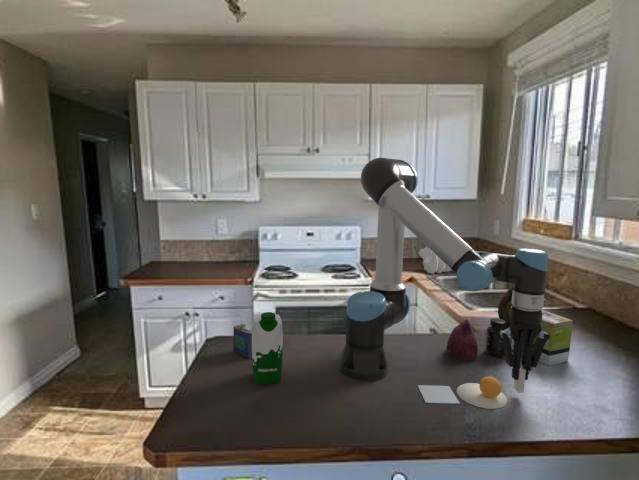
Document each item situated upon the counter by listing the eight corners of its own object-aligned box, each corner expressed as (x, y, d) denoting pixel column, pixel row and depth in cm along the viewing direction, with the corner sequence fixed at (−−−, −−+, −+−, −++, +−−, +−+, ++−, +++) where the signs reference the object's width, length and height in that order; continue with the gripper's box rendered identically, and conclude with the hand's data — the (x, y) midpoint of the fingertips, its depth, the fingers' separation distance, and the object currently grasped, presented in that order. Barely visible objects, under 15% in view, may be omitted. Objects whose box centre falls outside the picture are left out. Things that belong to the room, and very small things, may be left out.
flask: (255, 357, 129) (255, 326, 127) (248, 360, 127) (248, 328, 125) (237, 349, 135) (237, 319, 133) (230, 352, 132) (230, 321, 131)
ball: (504, 380, 105) (506, 399, 106) (493, 371, 111) (496, 389, 111) (484, 384, 105) (486, 403, 106) (474, 374, 110) (477, 392, 111)
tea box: (509, 348, 141) (513, 308, 139) (529, 344, 145) (533, 305, 143) (548, 366, 128) (553, 322, 126) (569, 361, 132) (574, 319, 130)
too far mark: (425, 403, 104) (425, 402, 104) (417, 385, 113) (417, 385, 113) (459, 403, 104) (459, 403, 104) (448, 386, 113) (448, 385, 113)
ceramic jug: (537, 341, 148) (546, 263, 144) (493, 332, 156) (500, 258, 152) (540, 328, 162) (548, 256, 158) (499, 320, 170) (506, 252, 166)
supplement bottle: (480, 349, 140) (483, 317, 138) (499, 349, 140) (502, 316, 139) (490, 358, 133) (494, 324, 131) (510, 357, 134) (513, 323, 132)
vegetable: (477, 370, 131) (490, 333, 125) (445, 363, 133) (456, 326, 127) (473, 350, 140) (485, 315, 134) (443, 344, 142) (453, 308, 136)
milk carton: (252, 386, 111) (252, 318, 108) (251, 371, 119) (251, 307, 116) (283, 384, 112) (284, 316, 110) (280, 369, 121) (280, 306, 118)
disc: (466, 408, 102) (466, 407, 102) (450, 383, 115) (450, 382, 115) (516, 409, 102) (516, 408, 102) (494, 384, 115) (494, 383, 115)
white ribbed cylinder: (456, 278, 265) (428, 279, 254) (441, 262, 278) (413, 263, 267) (469, 256, 256) (440, 256, 245) (451, 240, 269) (423, 240, 258)
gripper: (509, 311, 102) (500, 396, 105) (559, 312, 101) (549, 398, 105) (496, 302, 109) (488, 382, 112) (543, 303, 109) (534, 383, 112)
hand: (518, 390), depth 109 cm, fingers closed
